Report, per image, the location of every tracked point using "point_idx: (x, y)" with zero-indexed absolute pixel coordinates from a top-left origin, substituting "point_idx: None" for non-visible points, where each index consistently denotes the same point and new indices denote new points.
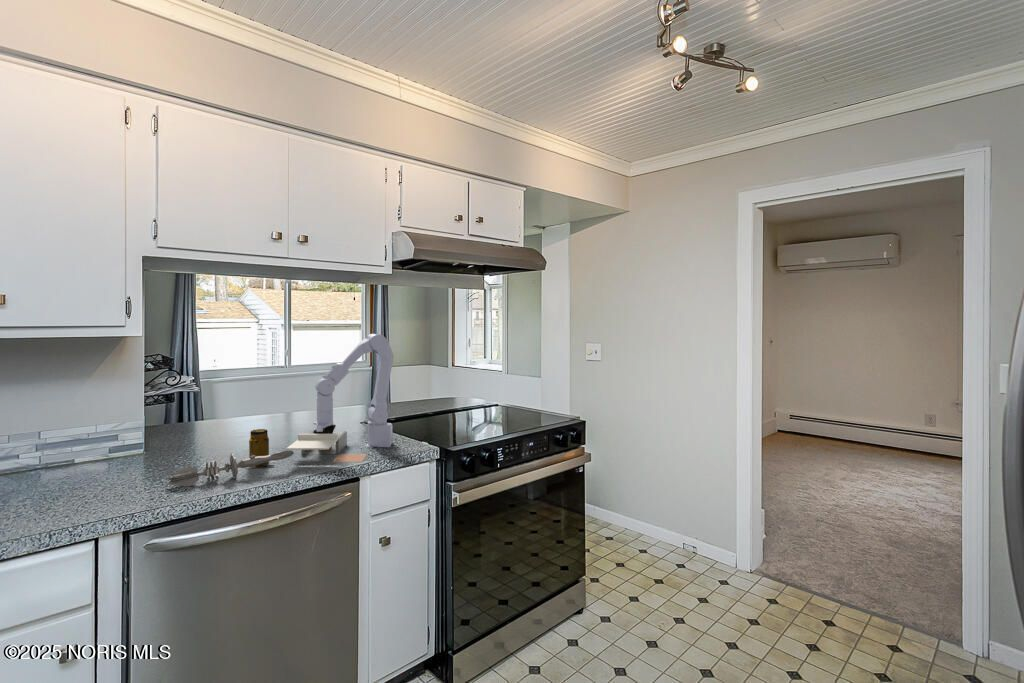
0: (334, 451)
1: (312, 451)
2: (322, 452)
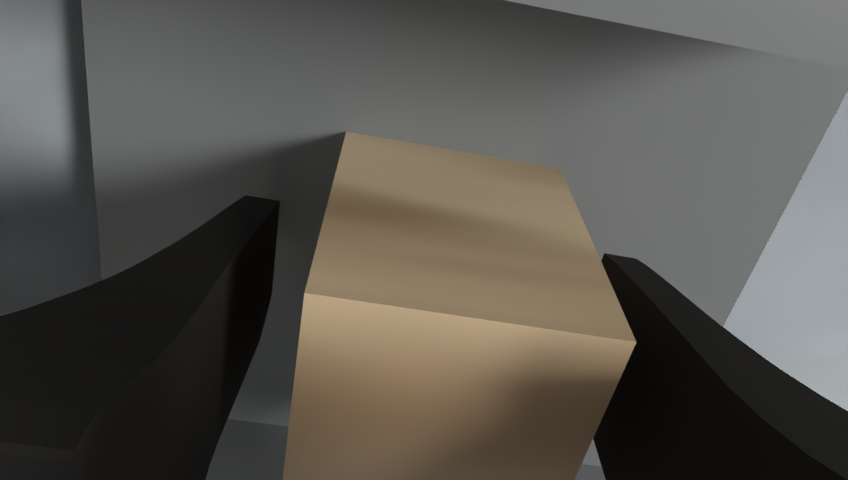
0: (255, 382)
1: (288, 27)
2: (195, 221)
